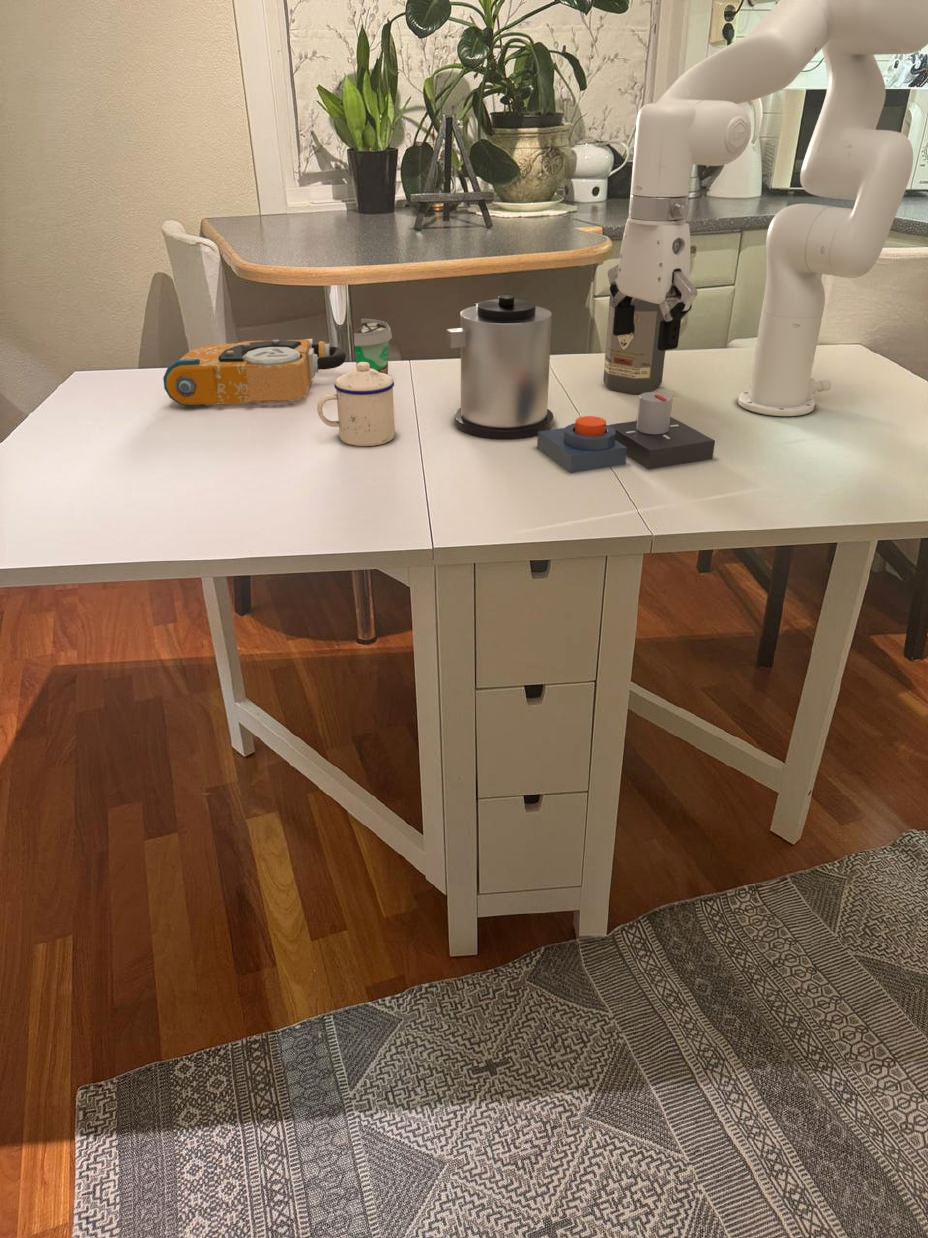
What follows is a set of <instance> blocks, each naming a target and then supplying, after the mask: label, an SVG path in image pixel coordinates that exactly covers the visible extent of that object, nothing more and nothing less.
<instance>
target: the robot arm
mask: <svg viewBox="0 0 928 1238" xmlns="http://www.w3.org/2000/svg"><path fill="white" fill-rule="evenodd" d="M926 46H928V0H778V2H777V3H776V4H775V5H774V6H773V7H772V8H771V9H770V11H768V12H767V14H766V15H765V16H764V17H763V18H762V19H761V20H760V21H759V23H758V24H757V25H756V26H755V27H754V28H753V29H752V30H751V31H750V32H749V33H748V34H747V35H745V36H742V37H741V38H740V39H737V40H736V41H734V42H731V43H730V44H728V45H726V46H724V47H723V48H722V49H720V50H718V51H716V52H714V53H713V54H711V55H709V56H707V57H706V58H704V59H702V60H701V61H699V62H698V63H696V64H694V65H693V66H692V67H689V69H687V70H686V71H685V72H683V73H682V74H681V75H680V76H679V77H678V78H677V79H676V80H675V81H674V82H673V83H672V84H671V85H670V86H669V88H667V90H666V91H665V92H664V93H663V94H662V96H660V98H659V99H658V100H657V101H656V102H651V103H646V104H644V105H642V107H641V108H640V109H639V111H638V113H637V117H636V125H635V136H634V149H633V158H632V172H631V183H630V193H629V194H630V196H629V204H628V205H629V206H628V216H627V219H626V223H625V227H624V231H623V235H622V241H621V245H620V246H621V247H620V252H619V259H618V264H617V265H615V266H613V267H612V268H610V269H608V270H607V277H608V281H609V282H608V283H609V285H610V286H609V292H610V294H612V296H613V301H612V303H613V305H614V306H616V307H615V314H614V326H613V335H615V336H619V335H626V334H631V333H632V332H633V322H634V311H635V305H631V303H632V302H633V301H634V299H635V298H636V299H640V300H644V301H647V302H651V303H655V304H659V306H660V309H661V311H662V314H663V317H664V319H665V320H661V322H660V328H659V338H658V347H657V348H658V350H660V351H664V350H665V351H670V350H676V349H678V347H679V339H680V333H681V332H680V331H681V323H682V320H684V319H685V318H686V315H687V314H688V313H689V312H690V311H691V310H692V305H693V304H694V302H695V299H696V297H697V295H698V289H697V288H696V286H694V284H693V283H692V282H691V281H690V271H691V230H690V223H687V222H686V220H687V215H688V214H689V212H690V207H689V204H688V203H689V195H690V187H691V180H692V179H691V177H692V170H693V165H697V166H708V167H709V166H710V167H721V166H725V165H728V164H730V163H732V162H734V161H735V160H737V159H738V158H739V157H741V155H742V154H743V153H744V152H745V150H746V149H747V147H748V145H749V142H750V139H751V135H752V123H751V120H750V119H751V118H750V117H749V114H748V113H747V111H746V110H745V109H744V108H743V107H742V106H741V105H739V104H742V103H747V102H752V101H755V100H758V99H761V98H764V97H767V96H769V95H772V94H774V93H778V92H779V91H781V90H784V89H786V88H787V87H788V86H789V85H791V84H792V83H793V82H794V81H795V80H796V78H797V77H798V76H799V75H800V74H801V73H802V71H803V70H804V69H805V68H806V67H807V65H808V64H809V63H811V62H812V60H813V59H814V58H815V56H816V55H817V54H818V53H819V52H821V51H822V55H823V59H824V63H825V64H824V65H825V69H826V77H827V78H826V81H827V82H826V84H827V86H826V93H825V97H824V101H823V104H822V108H821V110H820V113H819V115H818V119H817V121H816V124H815V126H814V130H813V132H812V135H811V138H810V141H809V144H808V146H807V149H806V152H805V154H804V158H803V161H802V164H801V169H800V173H799V180H800V185H801V187H802V189H803V190H804V191H805V192H806V193H808V194H810V195H813V196H817V197H821V198H827V199H836V200H848V201H854V205H853V208H850V207H842V206H841V207H839V206H834V205H825V204H818V203H817V204H816V203H795V204H794V203H793V204H791V205H787V206H785V207H784V208H782V209H781V210H779V211H778V212H777V213H776V214H775V215H774V216H773V218H772V219H771V221H770V223H769V225H768V229H767V232H766V241H765V250H766V251H765V255H766V273H765V274H766V276H765V287H764V294H763V301H762V305H761V306H762V307H761V313H760V319H759V325H758V331H757V337H756V344H755V350H754V356H753V363H752V368H751V376H750V380H749V386H748V389H746V390H744V391H742V392H740V394H738V396H737V403H738V405H739V406H740V407H741V408H743V409H744V410H747V411H750V412H753V413H757V414H761V415H766V416H772V417H773V416H775V417H797V416H803V415H807V414H810V413H811V412H813V411H814V410H815V407H816V401H815V400H814V398H813V397H812V396H813V395H815V394H816V393H817V392H819V393H820V392H828V391H830V389H831V388H832V383H831V380H830V379H828V378H827V379H826V378H825V379H820V380H816V379H814V378H813V377H811V376H812V372H813V368H814V367H813V365H814V361H815V356H816V351H817V345H818V340H819V336H820V330H821V325H822V321H823V315H824V311H825V305H826V293H825V288H824V284H823V280H822V278H821V275H820V274H822V275H826V276H832V277H839V278H846V279H856V278H860V277H863V276H865V275H866V274H868V273H869V272H870V271H871V269H872V268H873V267H874V266H875V264H877V262H878V260H879V258H880V256H881V253H882V251H883V249H884V246H885V243H886V241H887V238H888V237H889V234H890V231H891V228H892V226H893V223H894V220H895V219H896V215H897V214H898V211H899V208H900V206H901V203H902V200H903V198H904V195H905V193H906V190H907V187H908V184H909V181H910V178H911V175H912V171H913V164H914V150H913V149H914V148H913V145H912V142H911V140H910V139H909V138H908V136H907V135H905V134H903V133H902V132H900V131H895V130H887V129H877V126H878V123H879V121H880V118H881V114H882V111H883V108H884V105H885V101H886V97H887V95H886V94H887V91H886V84H885V80H884V77H883V73H882V71H881V69H880V67H879V64H878V62H877V60H876V57H875V56H877V55H880V56H881V55H910V54H914V53H917V52H919V51H921V50H923V49H924V48H925V47H926ZM669 304H670V306H669ZM671 306H672V308H671Z"/></svg>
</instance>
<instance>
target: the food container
mask: <svg viewBox="0 0 928 1238" xmlns="http://www.w3.org/2000/svg"><path fill="white" fill-rule="evenodd" d="M360 322H361V323H360V324H361V325H360V327H359V328H358V331H357V333H356V332H355V333H353V341H354V352H355V353H354V354H355V364H356V367H357V363H359V362H367V363H369V364H370V368H371V369H374V370H376V371H378V372H380V373H384V374H387V375H389V346H390V345H389V343H390V341H391V339H393V334H392V330H391V327H390V326H389V324H388V323H387V322H386V321H383V320H379V319H373V318H361V319H360Z"/></svg>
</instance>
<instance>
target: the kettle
mask: <svg viewBox="0 0 928 1238" xmlns="http://www.w3.org/2000/svg"><path fill="white" fill-rule="evenodd" d="M552 314H553V313H552V312H551V310H549V309H547V308H545V307H541V306H537V305H536V304H535V303H534V302H532V301H529V300H524V299H516V298H515V296H513V295H510V294H509V295H507V294H505V295H504V294H503V295H499V296H498V298H495V299H487V300H483V301H480V302H476V303H475V302H474V304H473V306H470V307H467V308H464V309H462V310H461V311H460V315H459V316H460V319H459V321H460V325H459V326H460V327H457V328H448V329H446V346H447V347H449V348H450V349H458V348H460V407H459V408H458V409H457V410H456V411H455V412H454V426H455V428H456V429H457V430H459V431H460V432H461V433H463V434H466V435H468V436H472V437H475V438H480V439H487V440H494V441H495V440H496V441H514V440H525V439H531V438H534V437H538V432H539V431H546V430H552V428H553V427H554V426H553V425H554V414H553V412H552V411H551V410H550V409H549V407H548V406H549V405H548V404H549V403H548V401H549V383H550V363H551V362H550V360H551V341H552V340H551V338H552V337H551V336H552V319H553V318H552V316H553V315H552Z"/></svg>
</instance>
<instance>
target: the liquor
mask: <svg viewBox="0 0 928 1238" xmlns="http://www.w3.org/2000/svg"><path fill="white" fill-rule="evenodd" d="M612 301H613V296H612V294H611V293H610V294H609V301H608V313H607V326H606V327H607V328H606V341H605V352H604V353H605V354H604V367H603V384H604V386H605V387H606V388H607V389H608V390H609V391H612V392H613V391H614V392H619V393H623V394H624V393H625V394H629V395H641V394H642V393H646V392H654V390H657V389H658V388H659V387H660V386H661V385H662V382H663V377H664V376H663V375H664V366H665V357H666V350H664V351H660V350H658V348H657V347H658V338H659V328H660V322H661V320H665V319H664V317H663V314H662V311H661V309H660V306H659V304H655V303H651V302H647V301H644V300H640V299H636V298H635V299H634V301H633V302H632V303H631V305H635V311H634V322H633V332H632V333H631V334H626V335H619V336H615V335H613V326H614V314H615V307H616V306H614V305H613V303H612ZM669 306H670V307H671V304H669Z"/></svg>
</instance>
